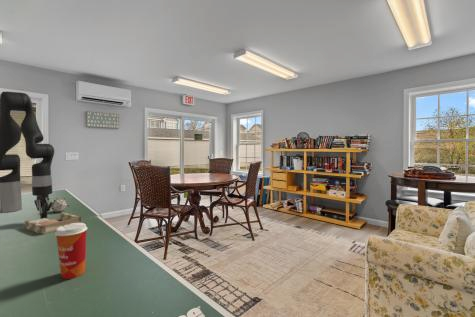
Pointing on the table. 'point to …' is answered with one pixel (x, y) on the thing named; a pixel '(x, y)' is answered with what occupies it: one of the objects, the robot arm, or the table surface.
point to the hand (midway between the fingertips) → (43, 219)
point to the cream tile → (40, 220)
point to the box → (52, 227)
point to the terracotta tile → (48, 222)
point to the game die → (59, 205)
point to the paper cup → (72, 249)
